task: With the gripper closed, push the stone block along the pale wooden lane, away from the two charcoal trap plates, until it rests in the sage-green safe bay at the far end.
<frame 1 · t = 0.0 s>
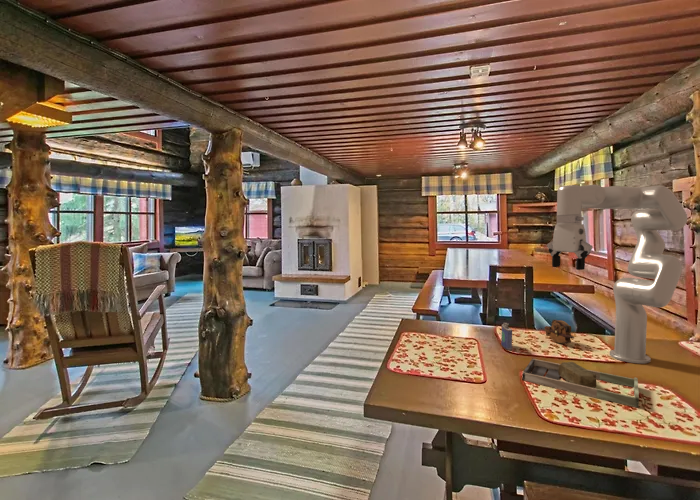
hand: (567, 268, 125), 37 cm above the table, tool pointing down, fingers open, 9 cm apart
stone block: (576, 382, 116), resting in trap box
flask: (506, 347, 151), on the table
wooden carving: (558, 342, 156), on the table
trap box: (578, 383, 115), on the table
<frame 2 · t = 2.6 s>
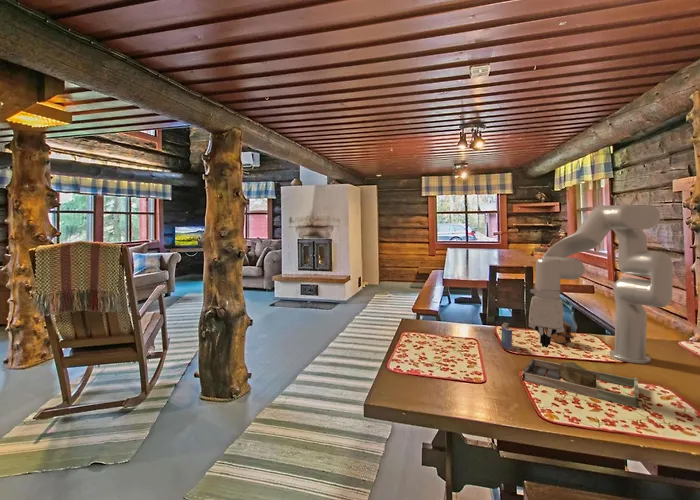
hand: (545, 346, 120), 11 cm above the table, tool pointing down, fingers closed
nothing on the table moved.
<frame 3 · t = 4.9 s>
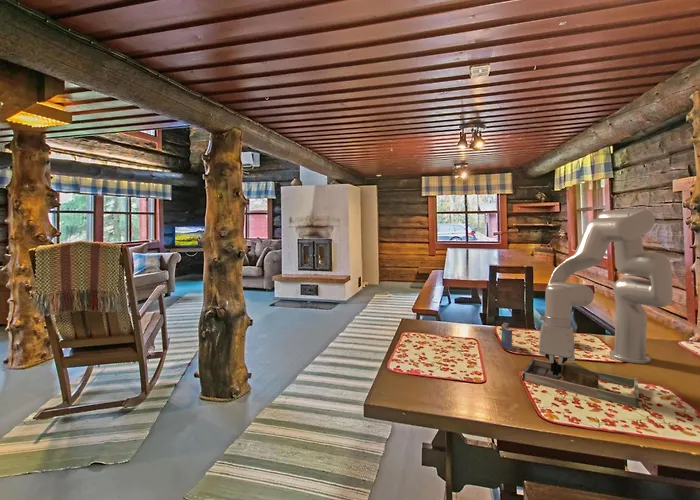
hand: (556, 374, 119), 2 cm above the table, tool pointing down, fingers closed
stone block: (577, 383, 115), resting in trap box, touching gripper
everything else where it was.
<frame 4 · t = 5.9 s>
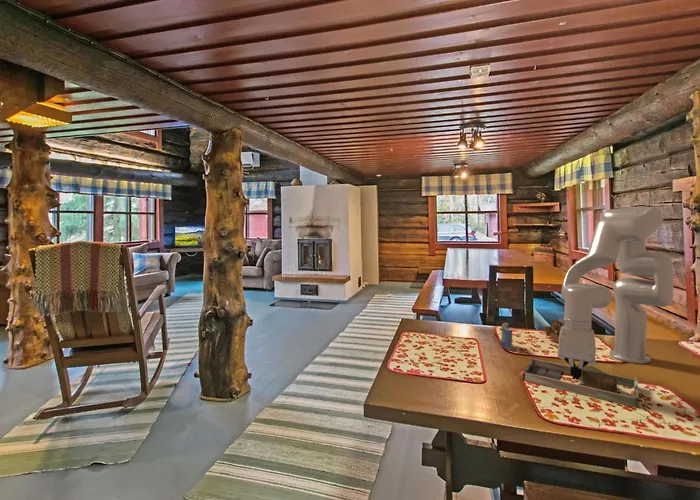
hand: (575, 378, 115), 2 cm above the table, tool pointing down, fingers closed
stone block: (596, 387, 113), resting in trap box, touching gripper
everything else where it was.
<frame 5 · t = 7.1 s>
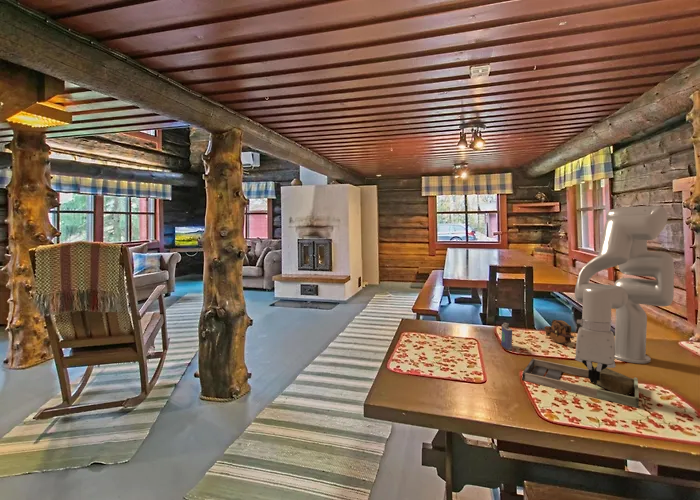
hand: (593, 381, 112), 2 cm above the table, tool pointing down, fingers closed
stone block: (610, 388, 111), resting in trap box, touching gripper
everything else where it was.
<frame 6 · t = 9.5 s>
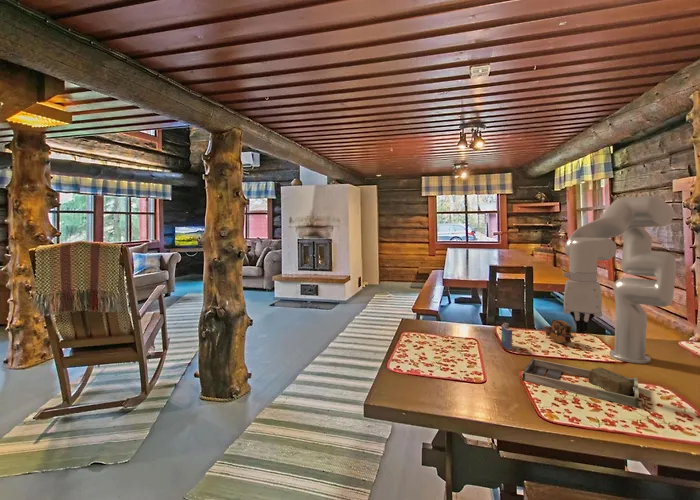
hand: (581, 332, 114), 17 cm above the table, tool pointing down, fingers closed
stone block: (610, 389, 111), resting in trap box
everything else where it was.
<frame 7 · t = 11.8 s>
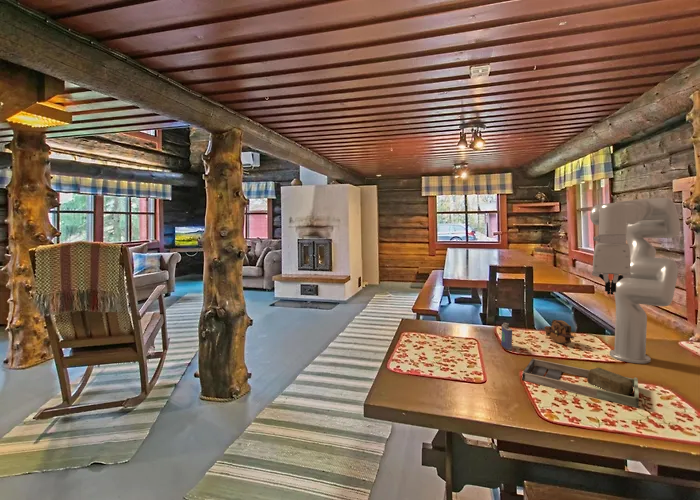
hand: (610, 293, 118), 29 cm above the table, tool pointing down, fingers closed
nothing on the table moved.
at the end: stone block inside the target area (2.1 cm from its centre), resting in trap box; stone block moved 9.0 cm from its start; stone block tilted 0° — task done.
